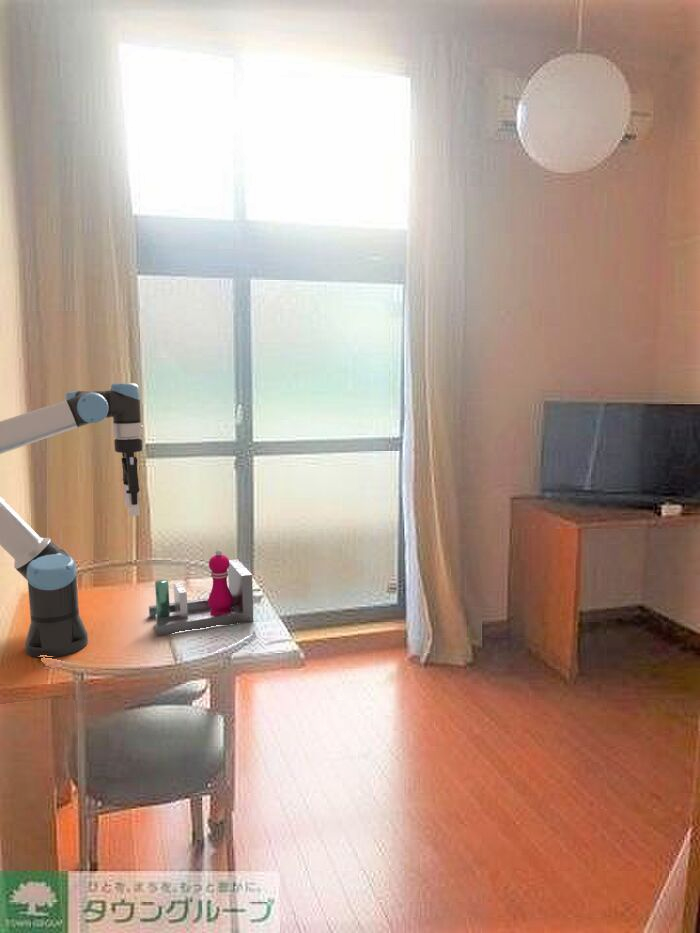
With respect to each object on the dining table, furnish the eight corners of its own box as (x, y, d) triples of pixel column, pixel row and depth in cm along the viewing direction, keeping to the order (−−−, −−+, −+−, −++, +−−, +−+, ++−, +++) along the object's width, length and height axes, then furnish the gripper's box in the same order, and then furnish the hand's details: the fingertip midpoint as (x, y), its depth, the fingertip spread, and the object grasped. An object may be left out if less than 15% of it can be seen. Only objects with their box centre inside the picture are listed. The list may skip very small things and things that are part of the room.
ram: (159, 630, 187) (156, 587, 186) (154, 618, 196) (152, 577, 195) (188, 626, 190) (186, 583, 189) (182, 614, 200) (180, 573, 198)
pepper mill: (236, 611, 202) (234, 546, 199) (229, 620, 195) (227, 553, 192) (212, 610, 203) (210, 546, 200) (205, 619, 196) (202, 553, 193)
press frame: (157, 636, 184) (154, 587, 182) (149, 616, 199) (146, 570, 197) (253, 621, 194) (252, 574, 192) (238, 602, 210) (237, 559, 208)
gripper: (147, 441, 182) (151, 518, 185) (136, 433, 204) (140, 502, 208) (117, 442, 179) (122, 521, 182) (110, 434, 202) (115, 504, 205)
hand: (132, 511), depth 195 cm, fingers open, 13 cm apart
